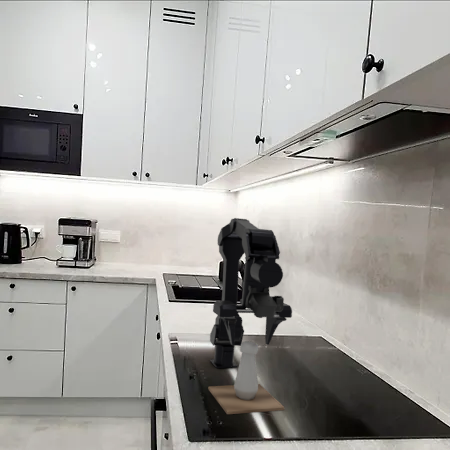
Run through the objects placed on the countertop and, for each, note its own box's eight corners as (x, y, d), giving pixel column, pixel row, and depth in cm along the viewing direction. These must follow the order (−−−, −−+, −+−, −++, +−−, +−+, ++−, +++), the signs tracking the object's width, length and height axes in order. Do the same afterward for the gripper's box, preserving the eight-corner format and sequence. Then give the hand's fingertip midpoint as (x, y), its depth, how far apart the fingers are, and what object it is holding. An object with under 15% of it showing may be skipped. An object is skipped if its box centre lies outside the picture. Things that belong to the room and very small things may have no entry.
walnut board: (208, 388, 105) (208, 386, 105) (259, 386, 109) (259, 383, 109) (227, 414, 91) (227, 411, 91) (284, 409, 96) (284, 407, 96)
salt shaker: (255, 392, 103) (260, 340, 103) (258, 402, 98) (263, 346, 98) (232, 390, 103) (236, 338, 103) (234, 400, 97) (238, 345, 97)
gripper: (230, 284, 91) (224, 356, 91) (306, 287, 97) (300, 354, 97) (215, 277, 101) (209, 341, 101) (284, 279, 108) (278, 340, 108)
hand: (249, 344), depth 102 cm, fingers open, 9 cm apart
